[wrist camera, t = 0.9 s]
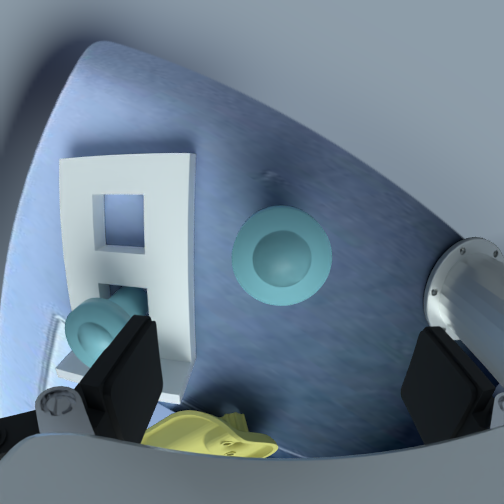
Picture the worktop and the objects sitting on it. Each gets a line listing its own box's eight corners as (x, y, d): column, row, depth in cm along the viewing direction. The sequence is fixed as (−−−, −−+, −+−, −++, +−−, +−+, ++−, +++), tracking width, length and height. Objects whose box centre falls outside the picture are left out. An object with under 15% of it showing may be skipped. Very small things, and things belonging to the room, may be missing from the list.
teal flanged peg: (160, 274, 32) (126, 312, 23) (163, 331, 33) (136, 380, 25) (103, 269, 32) (58, 301, 23) (110, 324, 34) (73, 366, 25)
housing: (196, 153, 28) (171, 150, 21) (196, 358, 34) (180, 404, 26) (72, 158, 29) (24, 160, 21) (89, 341, 35) (58, 377, 27)
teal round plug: (316, 198, 29) (337, 213, 20) (309, 268, 31) (325, 307, 22) (243, 193, 29) (233, 206, 20) (240, 263, 31) (230, 302, 22)
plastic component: (196, 484, 39) (140, 478, 33) (189, 445, 45) (137, 434, 39) (293, 444, 33) (234, 439, 27) (277, 396, 39) (221, 380, 33)
